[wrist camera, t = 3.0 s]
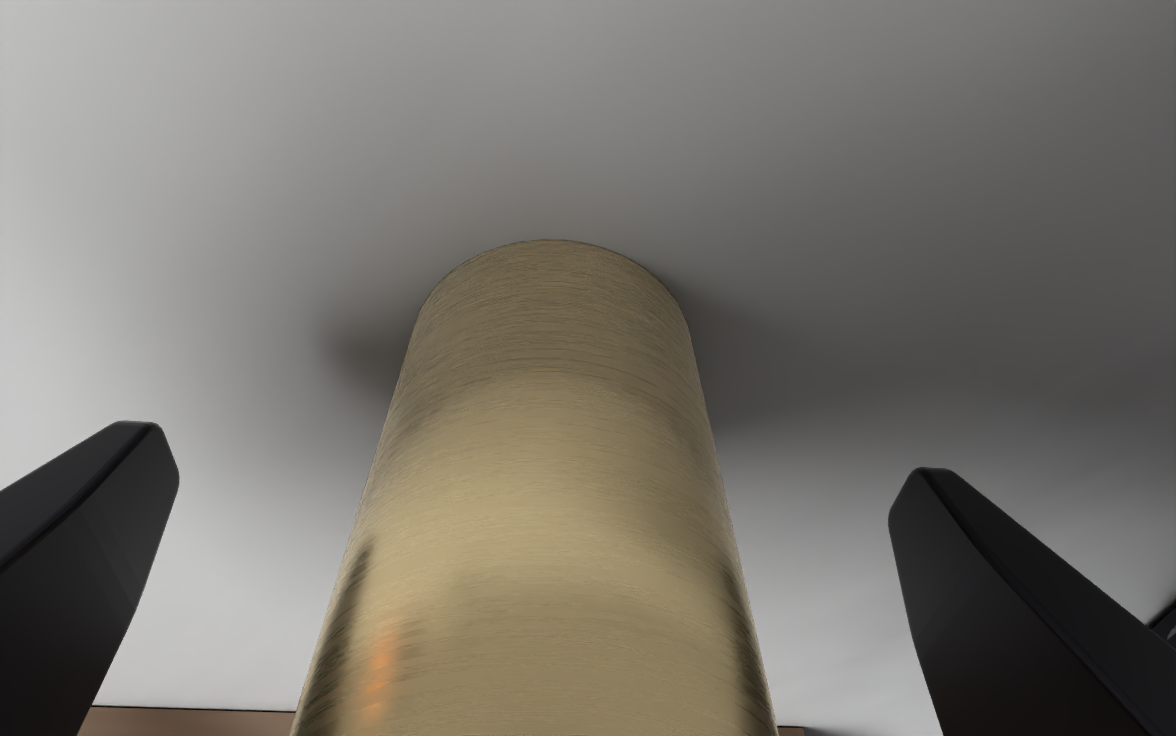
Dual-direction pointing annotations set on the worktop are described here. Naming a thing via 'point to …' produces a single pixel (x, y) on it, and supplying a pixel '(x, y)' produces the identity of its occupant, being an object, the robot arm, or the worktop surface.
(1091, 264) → the worktop surface
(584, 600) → the brass sleeve
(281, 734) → the walnut jig
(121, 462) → the robot arm
